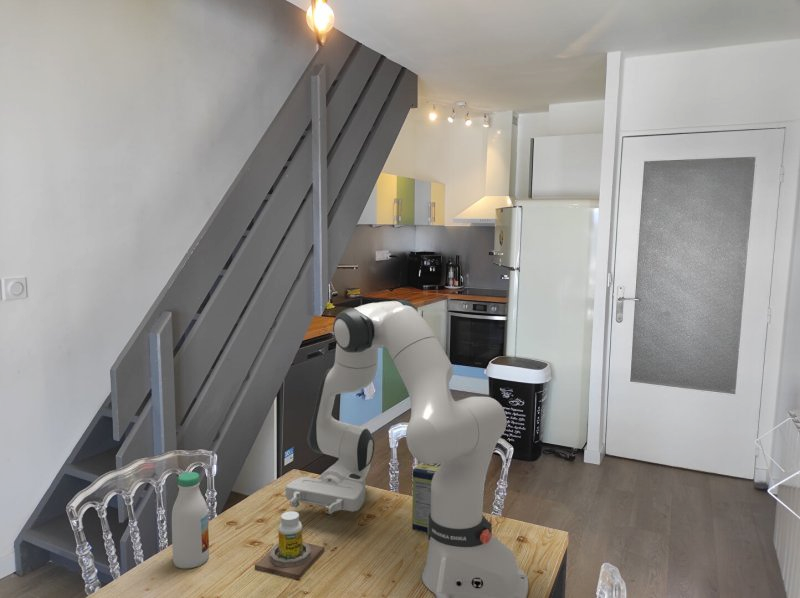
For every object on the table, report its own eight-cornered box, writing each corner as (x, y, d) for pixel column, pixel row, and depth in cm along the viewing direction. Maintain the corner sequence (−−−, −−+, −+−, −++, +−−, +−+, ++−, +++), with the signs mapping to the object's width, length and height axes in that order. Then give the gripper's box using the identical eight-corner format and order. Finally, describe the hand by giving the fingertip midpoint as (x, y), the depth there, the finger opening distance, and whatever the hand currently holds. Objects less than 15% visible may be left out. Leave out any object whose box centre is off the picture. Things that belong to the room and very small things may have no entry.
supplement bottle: (297, 546, 133) (296, 507, 132) (306, 557, 129) (306, 516, 128) (275, 553, 130) (274, 513, 129) (284, 564, 126) (283, 523, 125)
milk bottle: (194, 572, 124) (191, 485, 122) (165, 566, 127) (162, 479, 125) (216, 554, 132) (214, 471, 129) (188, 548, 134) (185, 466, 132)
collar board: (324, 550, 133) (324, 541, 133) (298, 579, 122) (298, 569, 122) (283, 542, 137) (283, 533, 137) (254, 569, 126) (254, 559, 126)
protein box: (468, 510, 154) (469, 455, 152) (450, 538, 140) (452, 477, 138) (431, 503, 158) (432, 449, 156) (411, 529, 144) (411, 470, 142)
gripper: (300, 467, 154) (272, 488, 141) (370, 478, 147) (347, 501, 134) (300, 489, 154) (272, 512, 141) (370, 502, 148) (347, 527, 135)
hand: (310, 507), depth 138 cm, fingers open, 8 cm apart
